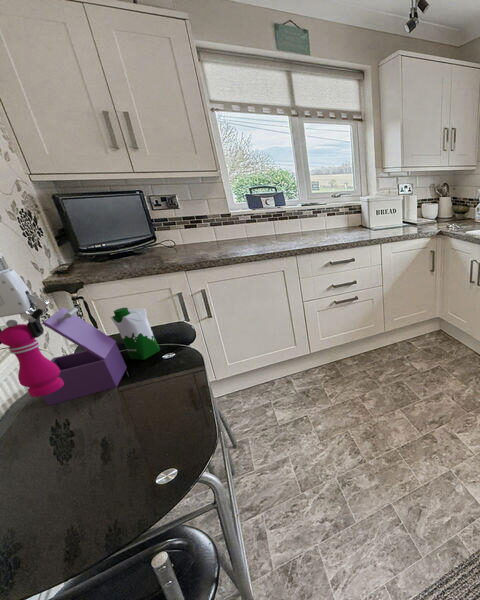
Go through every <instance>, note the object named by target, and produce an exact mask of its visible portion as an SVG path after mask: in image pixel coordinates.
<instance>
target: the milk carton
mask: <svg viewBox="0 0 480 600" xmlns="http://www.w3.org/2000/svg"><path fill="white" fill-rule="evenodd" d="M113 314H114V315H110V316H109V318H110V319H111V321H112V322H113V324H114V326H115V327H116V329H117V331H118V333H119V335H120V337H121V340H122V342H123V344H124V346H125V349H126V352H127V354H128V356H129V359H130V360H143V361H145V360H146V359H148V358H150V357H152V356H153V355H155V354H157V353H158V352H160V351H161V348H160V346H159V344H158V342H157V339H156V337H155V335H154V332H153V329H152V327H151V324H150V322H149V319H148V315H147V309H146V308H128V307H120V308H117V309H114V310H113Z"/></svg>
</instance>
